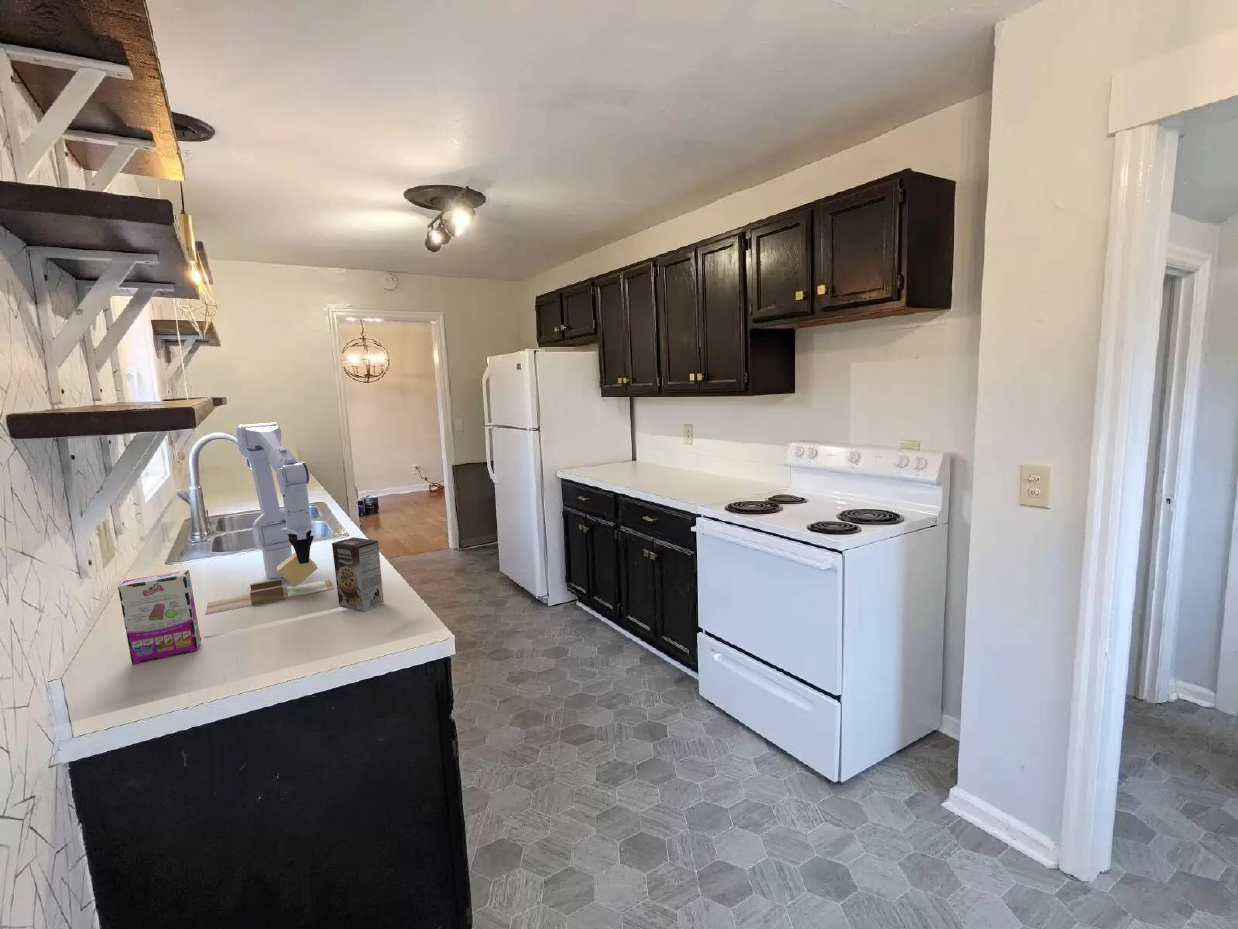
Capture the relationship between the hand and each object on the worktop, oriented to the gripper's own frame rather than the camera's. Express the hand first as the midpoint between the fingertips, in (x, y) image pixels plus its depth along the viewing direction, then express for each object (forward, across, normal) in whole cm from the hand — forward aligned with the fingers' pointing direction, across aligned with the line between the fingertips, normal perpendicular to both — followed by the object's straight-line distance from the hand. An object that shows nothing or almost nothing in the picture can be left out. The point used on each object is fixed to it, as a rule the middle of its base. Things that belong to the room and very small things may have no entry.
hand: (303, 560), depth 157 cm
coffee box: (+9, +20, +10) cm, 24 cm away
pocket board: (+8, 0, -8) cm, 12 cm away
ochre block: (+4, 0, 0) cm, 4 cm away
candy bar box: (+9, +24, -28) cm, 38 cm away
